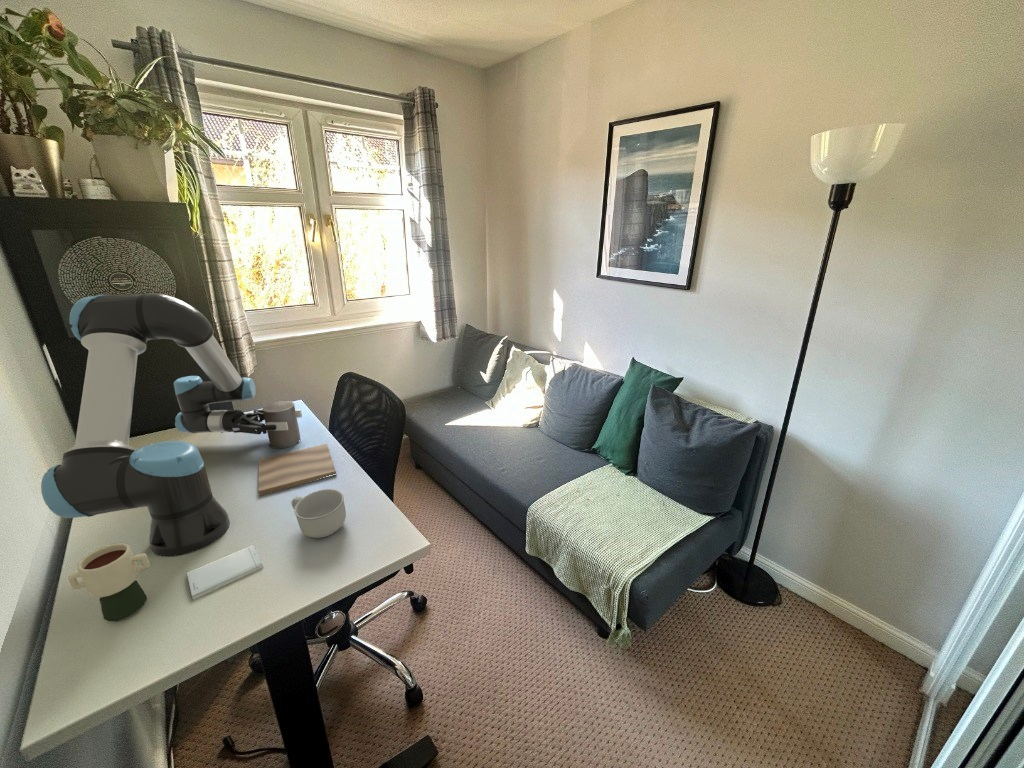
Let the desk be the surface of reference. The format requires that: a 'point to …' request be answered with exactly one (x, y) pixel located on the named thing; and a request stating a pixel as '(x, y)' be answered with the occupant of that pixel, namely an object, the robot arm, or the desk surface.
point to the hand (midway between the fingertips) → (294, 419)
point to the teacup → (320, 512)
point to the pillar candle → (282, 413)
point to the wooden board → (294, 468)
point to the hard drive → (223, 571)
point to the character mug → (113, 580)
